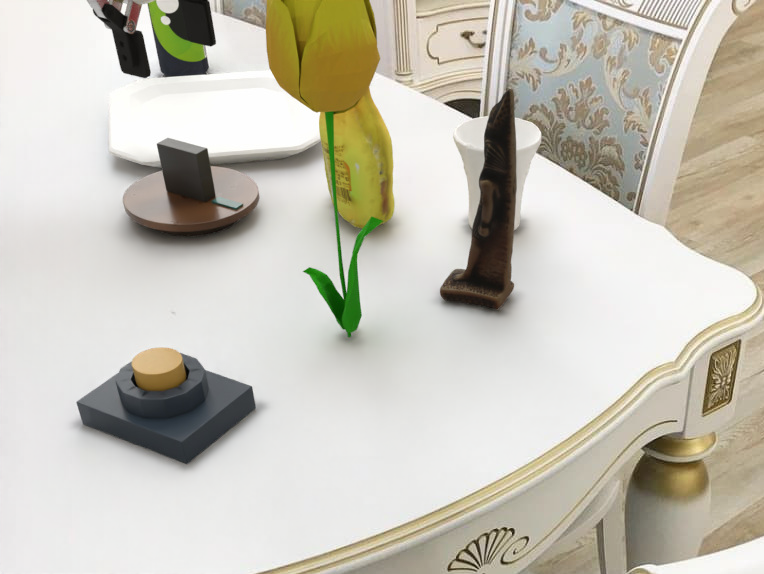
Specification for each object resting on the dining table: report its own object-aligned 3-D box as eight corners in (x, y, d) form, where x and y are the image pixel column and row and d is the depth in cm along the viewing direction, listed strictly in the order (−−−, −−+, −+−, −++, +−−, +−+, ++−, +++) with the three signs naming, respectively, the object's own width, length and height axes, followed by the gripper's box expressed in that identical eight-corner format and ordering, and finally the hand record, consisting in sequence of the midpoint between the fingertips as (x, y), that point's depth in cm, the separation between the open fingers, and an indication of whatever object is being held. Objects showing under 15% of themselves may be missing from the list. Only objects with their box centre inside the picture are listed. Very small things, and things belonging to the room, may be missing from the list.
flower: (298, 360, 99) (247, -14, 77) (308, 313, 105) (263, -48, 83) (395, 360, 99) (371, -12, 78) (399, 314, 105) (378, -46, 83)
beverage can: (182, 63, 149) (158, -66, 138) (219, 71, 147) (198, -58, 136) (151, 77, 145) (125, -54, 134) (190, 86, 143) (166, -46, 132)
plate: (309, 84, 144) (307, 66, 143) (334, 164, 128) (332, 144, 126) (112, 98, 140) (108, 80, 138) (112, 182, 123) (107, 162, 122)
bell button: (125, 384, 90) (120, 365, 88) (158, 360, 92) (154, 342, 91) (164, 398, 88) (159, 379, 87) (196, 374, 91) (192, 355, 90)
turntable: (95, 211, 115) (81, 155, 111) (183, 162, 124) (173, 108, 119) (202, 244, 111) (191, 186, 106) (285, 190, 119) (278, 136, 115)
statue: (454, 282, 109) (449, 66, 95) (521, 295, 108) (527, 78, 93) (438, 302, 107) (431, 83, 92) (507, 316, 105) (511, 96, 91)
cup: (435, 227, 117) (432, 131, 110) (494, 199, 122) (494, 105, 115) (497, 255, 113) (498, 157, 106) (555, 225, 118) (560, 129, 111)
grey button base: (82, 424, 92) (69, 383, 89) (155, 372, 97) (145, 331, 94) (187, 464, 88) (177, 422, 85) (256, 408, 94) (249, 367, 91)
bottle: (313, 196, 122) (290, -6, 107) (368, 186, 124) (353, -13, 109) (349, 244, 114) (330, 34, 100) (407, 232, 116) (396, 25, 102)
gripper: (160, -177, 102) (196, 26, 114) (22, -139, 91) (78, 80, 104) (226, -167, 100) (255, 39, 112) (91, -127, 89) (140, 95, 102)
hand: (170, 58), depth 108 cm, fingers open, 9 cm apart
